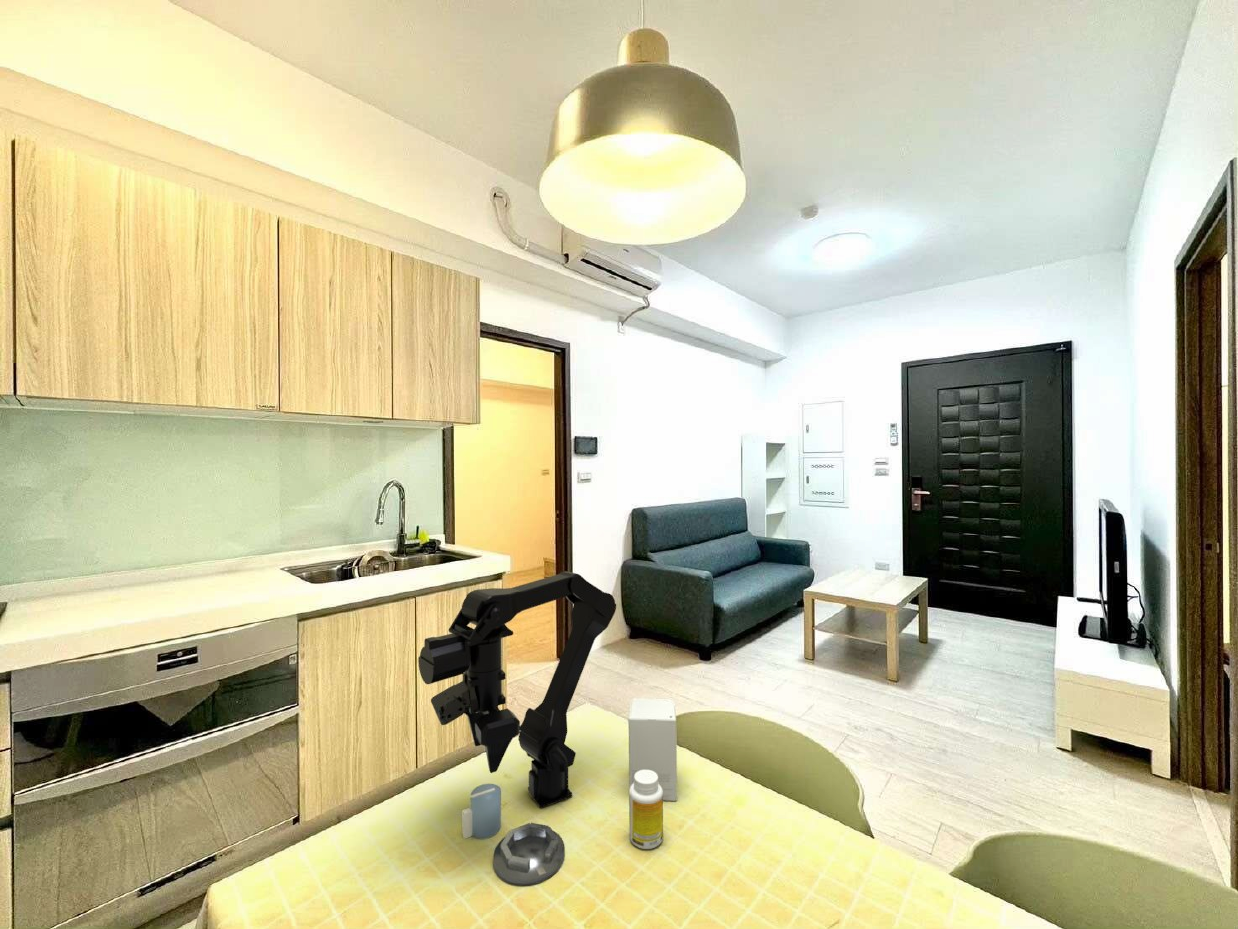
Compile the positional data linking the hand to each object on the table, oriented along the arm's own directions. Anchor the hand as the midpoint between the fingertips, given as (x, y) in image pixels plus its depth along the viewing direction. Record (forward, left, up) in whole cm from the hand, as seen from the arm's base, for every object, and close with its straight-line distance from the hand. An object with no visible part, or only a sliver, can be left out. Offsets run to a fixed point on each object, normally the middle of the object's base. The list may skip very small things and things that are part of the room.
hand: (485, 758), depth 86 cm
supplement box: (-31, +5, -12) cm, 34 cm away
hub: (-4, +10, -12) cm, 16 cm away
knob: (0, 0, -12) cm, 12 cm away
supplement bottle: (-22, +16, -12) cm, 30 cm away
